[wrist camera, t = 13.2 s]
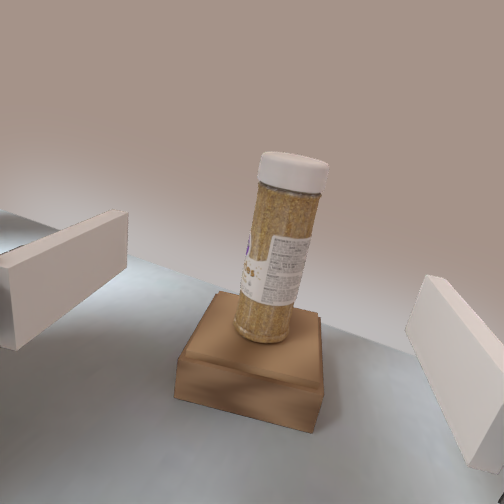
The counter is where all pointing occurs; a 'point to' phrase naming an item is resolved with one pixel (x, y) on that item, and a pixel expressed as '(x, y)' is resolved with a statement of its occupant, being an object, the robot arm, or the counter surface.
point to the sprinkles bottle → (278, 243)
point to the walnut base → (254, 368)
